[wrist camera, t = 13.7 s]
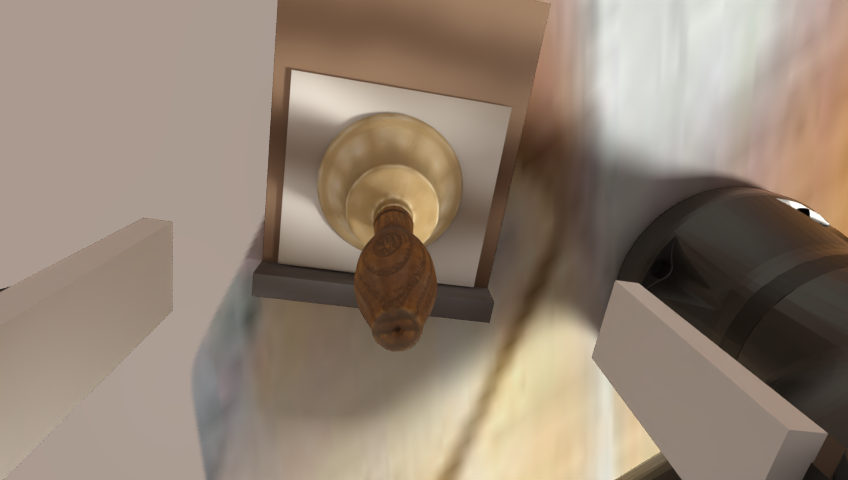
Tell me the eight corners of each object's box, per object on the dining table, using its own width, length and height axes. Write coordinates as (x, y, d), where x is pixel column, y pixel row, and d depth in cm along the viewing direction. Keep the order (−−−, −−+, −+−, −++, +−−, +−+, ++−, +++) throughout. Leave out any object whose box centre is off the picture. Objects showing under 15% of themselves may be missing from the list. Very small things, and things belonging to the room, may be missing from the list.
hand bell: (491, 188, 27) (620, 318, 12) (391, 281, 29) (394, 502, 13) (390, 79, 25) (393, 73, 10) (287, 187, 26) (149, 326, 11)
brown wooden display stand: (292, -36, 26) (271, -63, 21) (534, 11, 27) (564, -4, 23) (272, 263, 31) (251, 295, 27) (474, 288, 33) (489, 322, 28)
